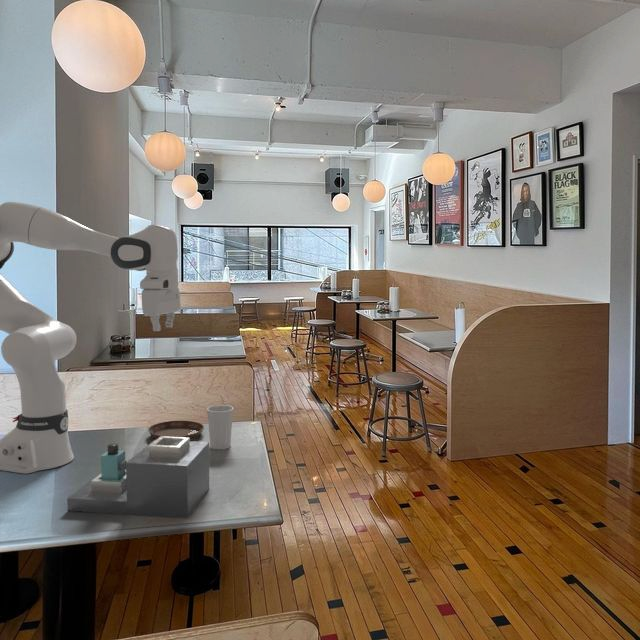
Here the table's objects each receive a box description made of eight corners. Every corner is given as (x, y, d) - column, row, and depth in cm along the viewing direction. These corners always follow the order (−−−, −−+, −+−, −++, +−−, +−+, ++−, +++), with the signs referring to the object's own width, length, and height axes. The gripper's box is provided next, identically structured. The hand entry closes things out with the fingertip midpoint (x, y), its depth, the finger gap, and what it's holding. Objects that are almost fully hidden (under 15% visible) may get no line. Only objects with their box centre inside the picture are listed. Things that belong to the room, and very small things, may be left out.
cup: (238, 445, 166) (238, 407, 165) (221, 452, 159) (220, 413, 158) (219, 440, 170) (219, 403, 169) (201, 447, 163) (201, 409, 162)
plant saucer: (202, 426, 185) (202, 418, 185) (205, 443, 168) (205, 433, 168) (149, 430, 180) (149, 421, 180) (147, 447, 163) (147, 437, 163)
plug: (101, 488, 125) (100, 447, 124) (109, 481, 129) (108, 442, 128) (121, 489, 125) (120, 448, 124) (128, 482, 129) (128, 442, 128)
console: (67, 511, 120) (65, 449, 119) (102, 482, 136) (101, 427, 134) (187, 518, 118) (187, 454, 116) (209, 488, 133) (208, 432, 132)
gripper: (165, 280, 165) (166, 325, 166) (137, 282, 144) (138, 333, 146) (185, 281, 164) (185, 325, 165) (159, 283, 144) (160, 333, 145)
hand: (163, 329), depth 155 cm, fingers open, 8 cm apart
